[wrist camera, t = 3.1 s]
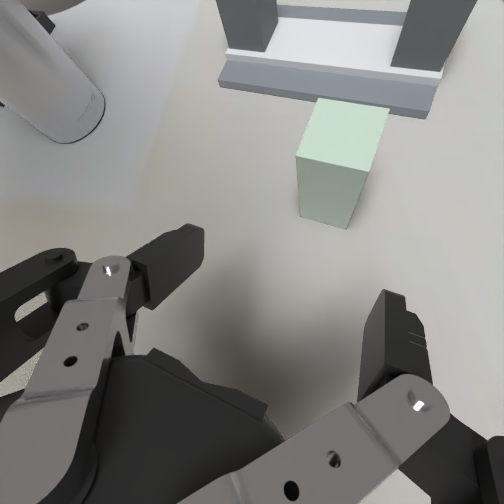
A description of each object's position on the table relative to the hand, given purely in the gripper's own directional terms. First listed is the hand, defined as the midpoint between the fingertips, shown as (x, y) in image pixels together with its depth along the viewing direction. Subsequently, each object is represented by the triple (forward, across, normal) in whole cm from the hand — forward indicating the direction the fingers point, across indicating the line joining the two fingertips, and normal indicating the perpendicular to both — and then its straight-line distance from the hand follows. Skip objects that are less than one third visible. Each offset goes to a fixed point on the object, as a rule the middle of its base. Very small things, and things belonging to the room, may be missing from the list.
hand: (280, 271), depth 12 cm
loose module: (+17, 0, +2) cm, 17 cm away
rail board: (+29, +6, -10) cm, 31 cm away
